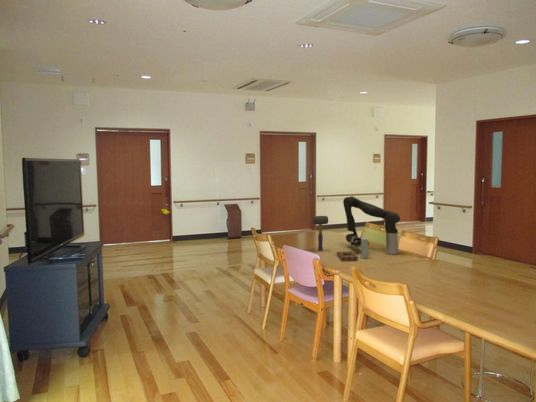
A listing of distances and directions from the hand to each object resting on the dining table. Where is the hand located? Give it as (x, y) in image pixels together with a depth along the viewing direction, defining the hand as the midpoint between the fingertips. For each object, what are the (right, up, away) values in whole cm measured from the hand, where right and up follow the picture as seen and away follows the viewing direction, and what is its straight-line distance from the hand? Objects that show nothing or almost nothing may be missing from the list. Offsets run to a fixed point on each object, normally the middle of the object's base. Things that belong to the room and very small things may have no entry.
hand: (361, 244), depth 337 cm
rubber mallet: (-31, -7, +20) cm, 38 cm away
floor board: (-13, -10, -8) cm, 18 cm away
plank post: (0, -9, -7) cm, 12 cm away
